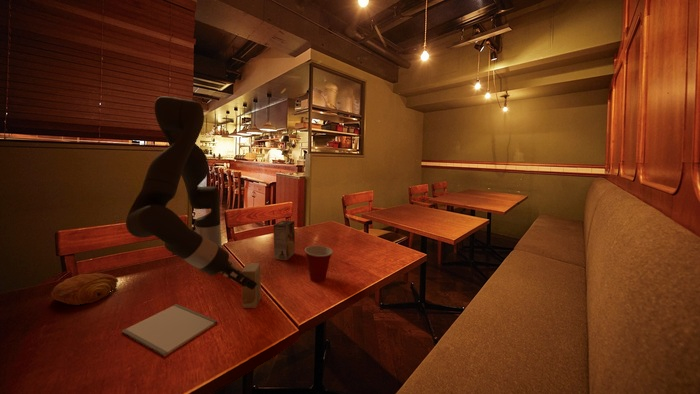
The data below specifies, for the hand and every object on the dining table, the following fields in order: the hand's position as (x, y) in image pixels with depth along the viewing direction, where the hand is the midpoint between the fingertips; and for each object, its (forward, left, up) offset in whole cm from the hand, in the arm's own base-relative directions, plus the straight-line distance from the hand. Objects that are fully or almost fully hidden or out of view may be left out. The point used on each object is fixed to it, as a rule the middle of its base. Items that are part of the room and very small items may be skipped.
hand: (248, 281), depth 82 cm
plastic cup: (+10, +25, -8) cm, 28 cm away
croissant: (-50, -20, -8) cm, 54 cm away
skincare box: (0, +1, -8) cm, 8 cm away
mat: (-10, -18, -8) cm, 22 cm away
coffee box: (-16, +37, -8) cm, 41 cm away
